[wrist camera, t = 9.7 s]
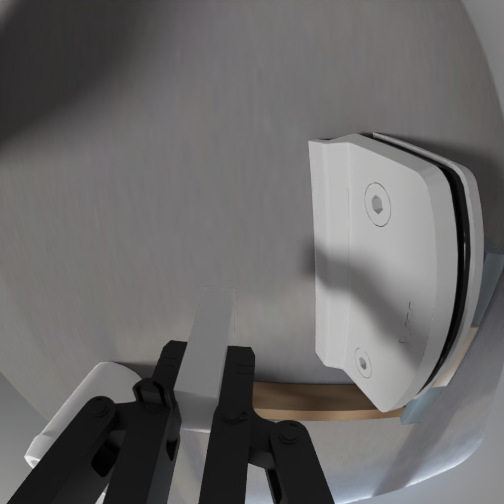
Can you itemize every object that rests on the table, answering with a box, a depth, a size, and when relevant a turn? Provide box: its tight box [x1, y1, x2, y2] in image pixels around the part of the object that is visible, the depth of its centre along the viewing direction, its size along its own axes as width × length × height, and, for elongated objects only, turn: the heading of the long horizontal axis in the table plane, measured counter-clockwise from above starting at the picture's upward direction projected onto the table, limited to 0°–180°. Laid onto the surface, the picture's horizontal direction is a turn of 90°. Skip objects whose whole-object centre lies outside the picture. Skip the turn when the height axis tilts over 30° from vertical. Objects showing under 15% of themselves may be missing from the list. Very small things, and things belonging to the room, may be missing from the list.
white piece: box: [308, 132, 484, 412], centre depth 16 cm, size 17×5×10 cm, turn 7°
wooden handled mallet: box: [252, 237, 504, 425], centre depth 21 cm, size 22×17×4 cm
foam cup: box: [24, 362, 142, 504], centre depth 22 cm, size 10×9×13 cm
